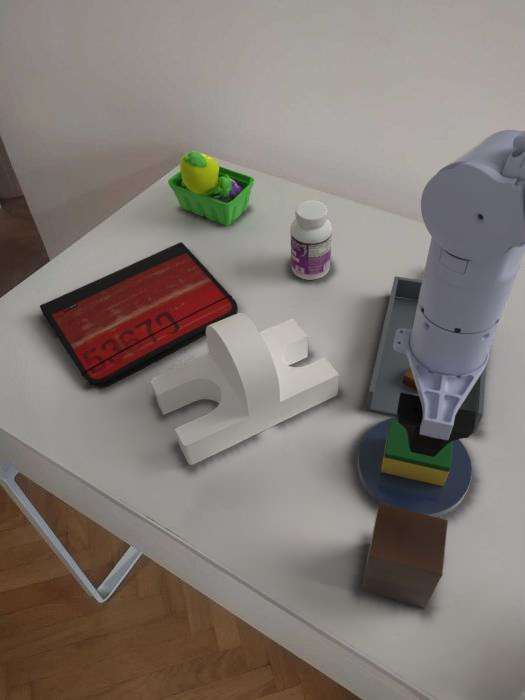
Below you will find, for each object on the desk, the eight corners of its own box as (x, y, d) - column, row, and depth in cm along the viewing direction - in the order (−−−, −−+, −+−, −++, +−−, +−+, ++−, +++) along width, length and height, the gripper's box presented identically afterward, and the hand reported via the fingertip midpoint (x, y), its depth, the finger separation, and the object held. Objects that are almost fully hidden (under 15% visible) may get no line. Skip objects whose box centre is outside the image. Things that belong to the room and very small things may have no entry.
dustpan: (475, 432, 60) (483, 414, 57) (366, 409, 63) (368, 391, 60) (487, 275, 76) (493, 255, 73) (399, 262, 78) (402, 242, 76)
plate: (465, 532, 53) (468, 527, 52) (347, 503, 56) (348, 497, 55) (472, 434, 60) (475, 428, 59) (367, 412, 62) (368, 406, 62)
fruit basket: (259, 206, 88) (254, 138, 80) (225, 238, 84) (216, 169, 75) (200, 186, 93) (190, 119, 84) (165, 215, 88) (150, 147, 80)
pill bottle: (284, 262, 79) (282, 203, 72) (318, 251, 81) (319, 191, 73) (302, 286, 76) (302, 227, 69) (337, 273, 77) (341, 214, 70)
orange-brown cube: (422, 393, 63) (424, 385, 62) (402, 382, 64) (403, 374, 63) (433, 379, 64) (435, 370, 63) (413, 369, 66) (415, 360, 64)
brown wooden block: (425, 608, 49) (442, 574, 43) (361, 590, 50) (369, 555, 44) (431, 558, 52) (448, 519, 46) (370, 542, 53) (378, 502, 47)
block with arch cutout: (293, 339, 70) (292, 270, 62) (337, 395, 64) (342, 327, 56) (155, 399, 65) (134, 333, 57) (189, 466, 59) (171, 403, 51)
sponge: (443, 486, 55) (450, 468, 52) (380, 472, 56) (384, 453, 54) (447, 451, 57) (454, 432, 55) (387, 438, 59) (391, 419, 56)
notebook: (37, 303, 73) (180, 238, 80) (43, 316, 75) (183, 251, 82) (90, 386, 65) (244, 306, 72) (95, 398, 66) (245, 318, 74)
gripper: (415, 234, 46) (394, 346, 56) (386, 371, 37) (368, 474, 47) (508, 246, 44) (469, 360, 54) (502, 393, 35) (457, 495, 46)
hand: (428, 414), depth 51 cm, fingers open, 7 cm apart
